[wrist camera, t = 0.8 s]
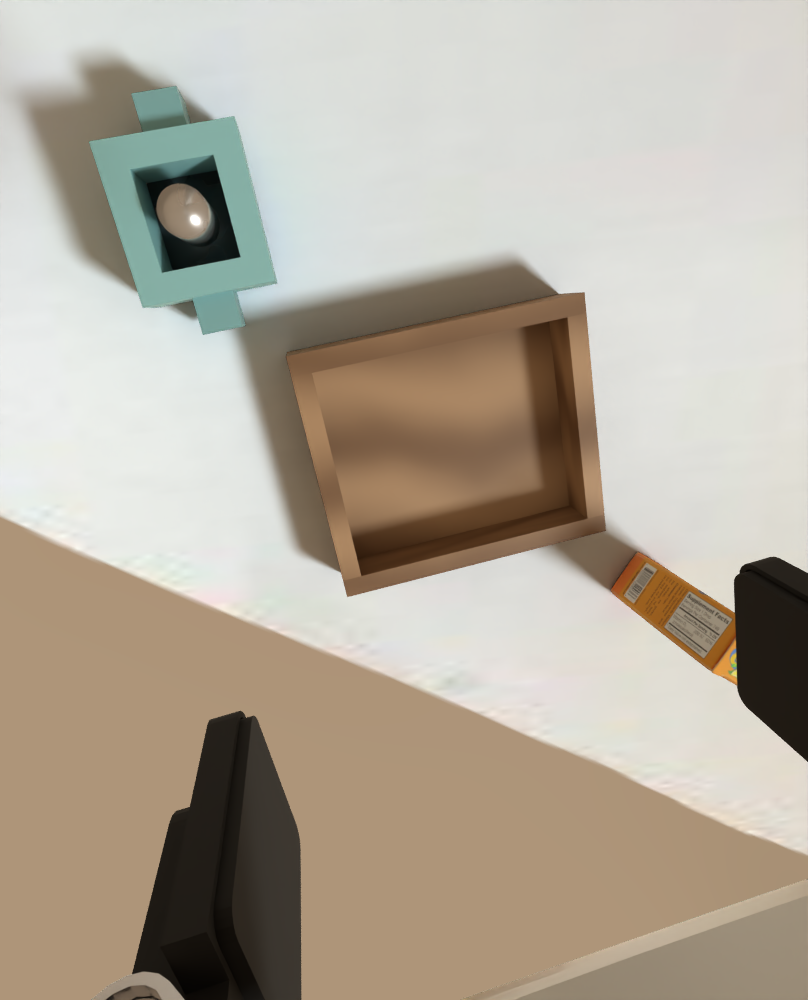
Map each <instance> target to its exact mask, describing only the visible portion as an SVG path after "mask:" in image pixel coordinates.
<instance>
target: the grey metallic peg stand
mask: <svg viewBox="0 0 808 1000" xmlns="http://www.w3.org/2000/svg"><path fill="white" fill-rule="evenodd" d="M147 188H148V191H149V194H150V197H151V201H152V204H153V207H154V211H155V214H156V217H157V221H158V224H159V227H160V231H161V234H162V237H163V240H164V244H165V247H166V250H167V254H168V257H169V260H170V264H171V267H172V270H173V271H174V270H179V269H184V268H189V267H194V266H199V265H204V264H209V263H215V262H220V261H225V260H230V259H235V258H240V257H241V256H240V253H239V249H238V245H237V241H236V237H235V234H234V230H233V226H232V222H231V219H230V215H229V211H228V207H227V204H226V200H225V196H224V192H223V189H222V185H221V181H220V177H219V173H218V170H216V171H210V172H205V173H199V174H194V175H188V176H183V177H177V178H172V179H166V180H161V181H155V182H150V183H147Z"/></svg>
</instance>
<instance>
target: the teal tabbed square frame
mask: <svg viewBox="0 0 808 1000" xmlns="http://www.w3.org/2000/svg"><path fill="white" fill-rule="evenodd" d="M131 94H132V98H133V101H134V104H135V108H136V111H137V114H138V118H139V121H140V124H141V128H142V131H143V132H140V133H134V134H129V135H123V136H117V137H111V138H106V139H100V140H94V141H89V143H90V147H91V150H92V153H93V156H94V159H95V162H96V165H97V168H98V171H99V174H100V177H101V180H102V184H103V187H104V190H105V193H106V196H107V199H108V202H109V205H110V208H111V211H112V214H113V217H114V221H115V224H116V227H117V230H118V233H119V236H120V239H121V242H122V245H123V248H124V251H125V254H126V257H127V261H128V264H129V267H130V270H131V273H132V276H133V279H134V282H135V285H136V288H137V291H138V294H139V298H140V301H141V304H142V307H143V308H158V307H163V306H168V305H173V304H178V303H183V302H188V301H193V303H194V306H195V310H196V313H197V316H198V320H199V323H200V326H201V330H202V333H203V335H204V334H209V333H214V332H219V331H224V330H229V329H233V328H238V327H243V326H246V325H245V321H244V318H243V314H242V310H241V307H240V303H239V299H238V296H237V292H238V291H243V290H248V289H252V288H257V287H262V286H267V285H272V284H277V280H276V276H275V272H274V268H273V264H272V260H271V256H270V252H269V248H268V244H267V240H266V236H265V232H264V228H263V224H262V220H261V216H260V212H259V208H258V204H257V200H256V196H255V192H254V188H253V184H252V180H251V176H250V172H249V168H248V164H247V160H246V156H245V152H244V148H243V144H242V140H241V136H240V132H239V129H238V126H237V123H236V120H235V117H234V116H232V117H227V118H221V119H215V120H209V121H204V122H198V123H192V124H191V123H190V119H189V116H188V112H187V108H186V105H185V102H184V100H183V98H182V96H181V94H180V92H179V91H178V89H177V87H176V86H173V87H167V88H161V89H155V90H149V91H143V92H137V93H131ZM216 170H218V173H219V177H220V181H221V185H222V189H223V192H224V196H225V200H226V204H227V207H228V211H229V215H230V219H231V222H232V226H233V230H234V234H235V237H236V241H237V245H238V249H239V253H240V256H241V257H240V258H235V259H230V260H225V261H220V262H215V263H209V264H204V265H199V266H194V267H189V268H184V269H179V270H174V271H173V270H172V267H171V264H170V260H169V257H168V254H167V250H166V247H165V244H164V240H163V237H162V234H161V231H160V227H159V224H158V221H157V217H156V214H155V211H154V207H153V204H152V201H151V197H150V194H149V191H148V188H147V184H146V183H150V182H155V181H161V180H166V179H172V178H177V177H183V176H188V175H194V174H199V173H205V172H210V171H216Z"/></svg>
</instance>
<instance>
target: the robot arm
mask: <svg viewBox="0 0 808 1000" xmlns="http://www.w3.org/2000/svg"><path fill="white" fill-rule="evenodd" d="M734 597H735V629H736V662H737V688H738V693H739V696H740V698H741V700H742V702H743V703H744V704H745V706H746V707H747V708H748V709H749V710H750V711H751V712H753V713H754V714H755V715H756V716H757V717H758V718H759V719H760V720H762V721H763V722H764V723H765V724H766V725H767V726H768V727H769V728H770V729H772V730H773V731H774V732H775V733H776V734H777V735H778V736H779V737H781V738H782V739H783V740H784V741H785V742H786V743H787V744H788V745H789V746H791V747H792V748H793V749H794V750H795V751H796V752H797V753H798V754H800V755H801V756H802V757H803V758H804V759H805V760H806V761H807V762H808V573H806V572H805V571H803V570H801V569H799V568H797V567H795V566H793V565H791V564H789V563H787V562H785V561H784V560H782V559H780V558H777V557H769V558H765V559H762V560H759V561H755V562H752V563H748V564H745V565H744V566H742V567H741V569H740V574H738V575H737V576H736V577H735V579H734ZM300 870H301V867H300V839H299V833H298V829H297V826H296V823H295V820H294V817H293V814H292V812H291V809H290V806H289V804H288V801H287V798H286V796H285V793H284V790H283V787H282V785H281V782H280V779H279V777H278V774H277V771H276V769H275V766H274V763H273V760H272V758H271V755H270V752H269V750H268V747H267V744H266V742H265V739H264V736H263V733H262V731H261V728H260V726H259V723H258V720H257V718H256V717H255V716H251V717H247V718H246V717H245V715H244V713H243V712H242V711H238V712H235V713H231V714H228V715H224V716H221V717H218V718H214V719H211V720H210V721H209V722H208V725H207V729H206V734H205V739H204V743H203V748H202V753H201V758H200V762H199V767H198V772H197V776H196V781H195V786H194V790H193V795H192V800H191V804H190V807H188V808H185V809H181V810H178V811H176V812H175V813H174V814H173V815H172V818H171V820H170V823H169V827H168V831H167V835H166V839H165V843H164V847H163V852H162V855H161V859H160V863H159V867H158V871H157V875H156V880H155V884H154V888H153V892H152V896H151V900H150V904H149V908H148V912H147V916H146V920H145V924H144V928H143V932H142V936H141V940H140V944H139V949H138V953H137V956H136V961H135V965H134V969H133V973H132V975H128V976H126V977H123V978H122V979H120V980H118V981H116V982H114V983H112V984H110V985H109V986H107V987H106V988H105V989H104V990H102V992H100V993H99V994H98V995H97V996H95V997H94V998H93V999H91V1000H301V879H300V878H301V871H300ZM462 1000H808V879H806V880H803V881H800V882H797V883H794V884H791V885H788V886H785V887H782V888H780V889H777V890H774V891H771V892H768V893H765V894H763V895H759V896H756V897H753V898H750V899H748V900H745V901H742V902H739V903H736V904H733V905H730V906H727V907H724V908H722V909H719V910H716V911H713V912H710V913H707V914H704V915H701V916H698V917H695V918H692V919H690V920H687V921H684V922H681V923H678V924H675V925H672V926H669V927H667V928H664V929H661V930H658V931H655V932H652V933H649V934H646V935H644V936H641V937H638V938H635V939H632V940H629V941H626V942H623V943H621V944H617V945H615V946H612V947H609V948H606V949H603V950H600V951H597V952H595V953H592V954H589V955H586V956H583V957H580V958H578V959H575V960H572V961H569V962H567V963H563V964H561V965H558V966H555V967H552V968H549V969H546V970H543V971H541V972H538V973H535V974H532V975H529V976H526V977H524V978H521V979H518V980H515V981H512V982H510V983H507V984H504V985H501V986H498V987H495V988H492V989H489V990H487V991H484V992H481V993H478V994H475V995H473V996H470V997H467V998H464V999H462Z"/></svg>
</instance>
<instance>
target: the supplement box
mask: <svg viewBox="0 0 808 1000" xmlns="http://www.w3.org/2000/svg"><path fill="white" fill-rule="evenodd" d="M611 592H612V593H613V594H614V595H615V596H616V597H617V598H619V599H620V600H621V601H622V602H624V603H625V604H626V605H627V606H629V607H630V608H631V609H632V610H633V611H635V612H636V613H637V614H638V615H640V616H641V617H642V618H643V619H645V620H646V621H647V622H648V623H650V624H651V625H652V626H653V627H655V628H656V629H657V630H658V631H660V632H661V633H662V634H664V635H665V636H666V637H667V638H669V639H670V640H671V641H673V642H674V643H675V644H676V645H678V646H679V647H680V648H681V649H683V650H684V651H685V652H687V653H688V654H689V655H690V656H692V657H693V658H694V659H695V660H697V661H698V662H699V663H701V664H702V665H703V666H705V667H706V668H707V669H708V670H710V671H712V673H714V674H716V675H719V676H721V677H723V678H725V679H727V680H728V681H730V682H732V683H733V684H735V685H737V662H736V629H735V613H734V612H732V611H731V610H729V609H728V608H726V607H725V606H723V605H722V604H720V603H718V602H717V601H715V600H714V599H712V598H711V597H709V596H708V595H706V594H705V593H703V592H702V591H700V590H698V589H697V588H695V587H694V586H692V585H690V584H689V583H687V582H686V581H684V580H683V579H681V578H680V577H678V576H677V575H675V574H674V573H672V572H671V571H669V570H668V569H666V568H665V567H663V566H662V565H660V564H658V563H657V562H655V561H653V560H652V559H650V558H648V557H646V556H645V555H643V554H641V553H639V552H637V553H636V554H635V555H634V557H633V558H632V559H631V561H630V562H629V564H628V565H627V566H626V568H625V569H624V571H623V572H622V574H621V575H620V577H619V578H618V580H617V581H616V583H615V584H614V586H613V587H612V589H611Z"/></svg>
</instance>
